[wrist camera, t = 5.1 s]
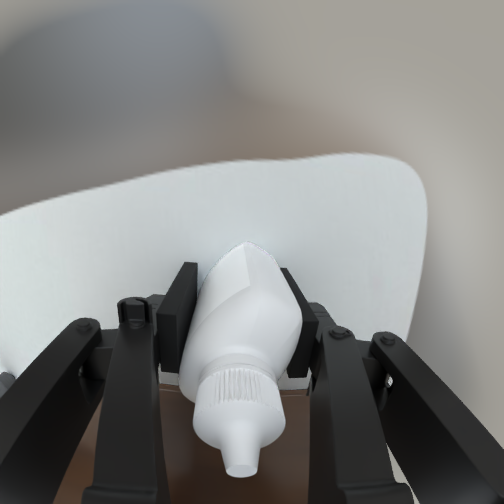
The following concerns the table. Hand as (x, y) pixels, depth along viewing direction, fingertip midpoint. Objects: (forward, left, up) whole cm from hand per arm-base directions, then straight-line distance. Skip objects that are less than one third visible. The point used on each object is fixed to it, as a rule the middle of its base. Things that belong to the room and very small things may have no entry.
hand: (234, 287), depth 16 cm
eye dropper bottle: (0, 0, 0) cm, 0 cm away
